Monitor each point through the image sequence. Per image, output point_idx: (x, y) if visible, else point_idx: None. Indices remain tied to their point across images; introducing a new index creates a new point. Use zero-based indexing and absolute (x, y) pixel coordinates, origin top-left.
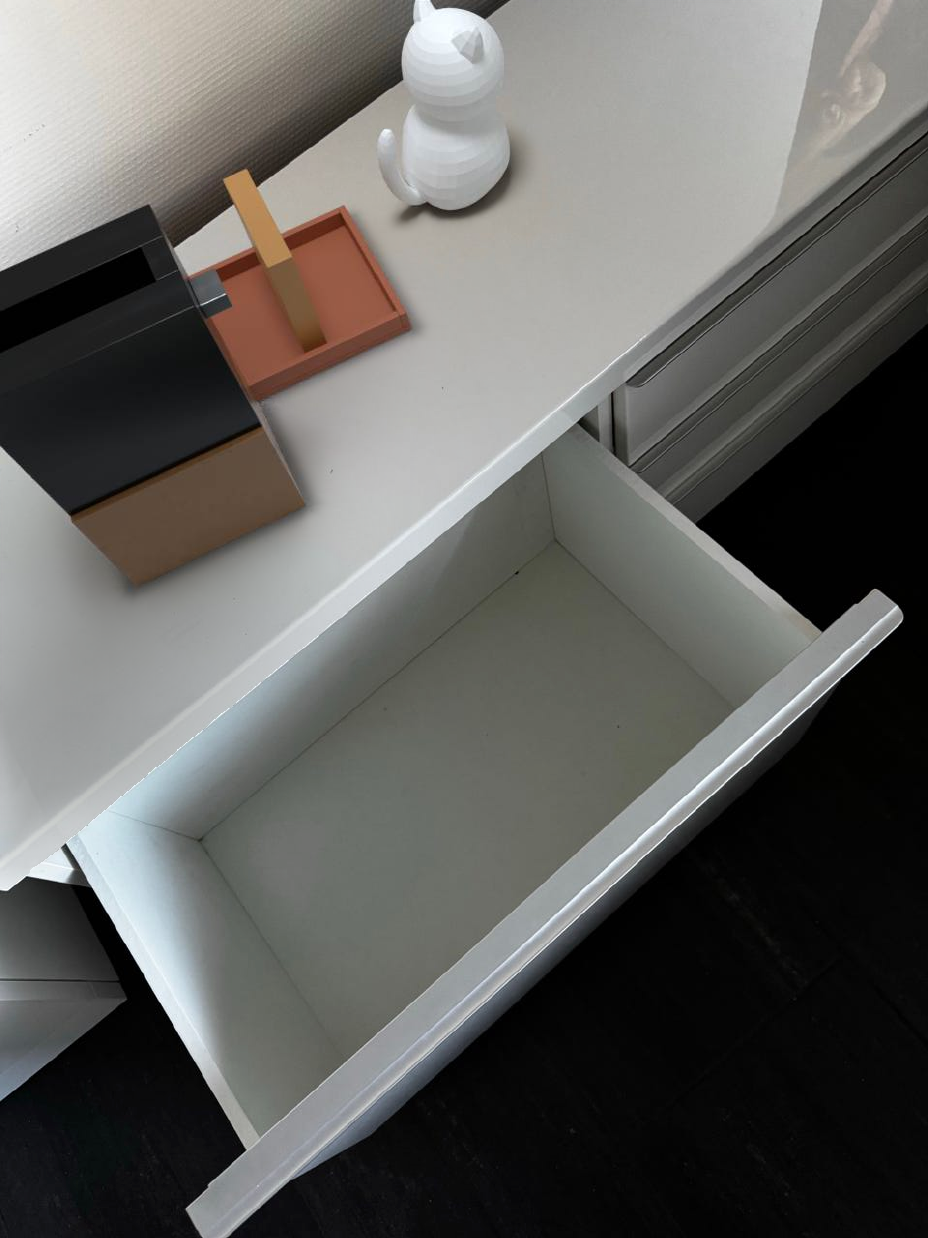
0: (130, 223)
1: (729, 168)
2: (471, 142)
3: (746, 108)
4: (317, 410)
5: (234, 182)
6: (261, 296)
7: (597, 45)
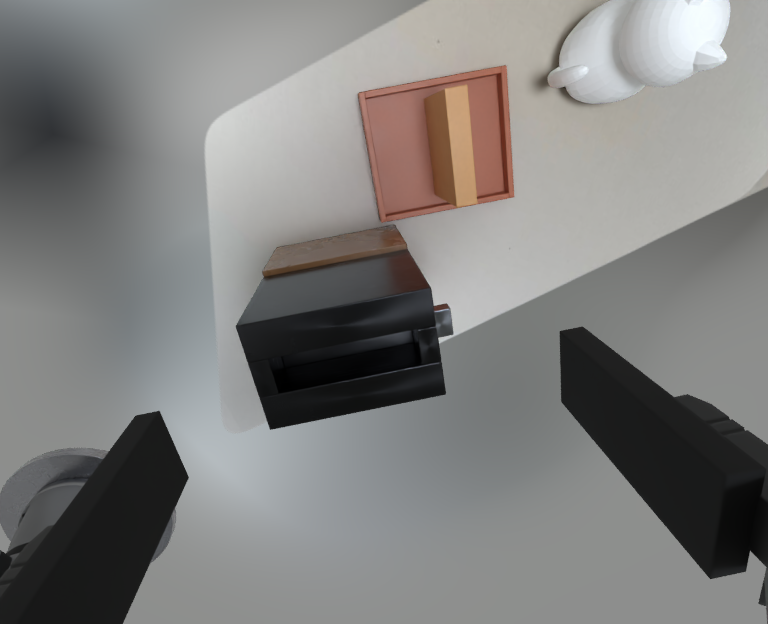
0: (412, 303)
1: (754, 137)
2: (632, 89)
3: None
4: (430, 237)
5: (453, 98)
6: (416, 125)
7: None
